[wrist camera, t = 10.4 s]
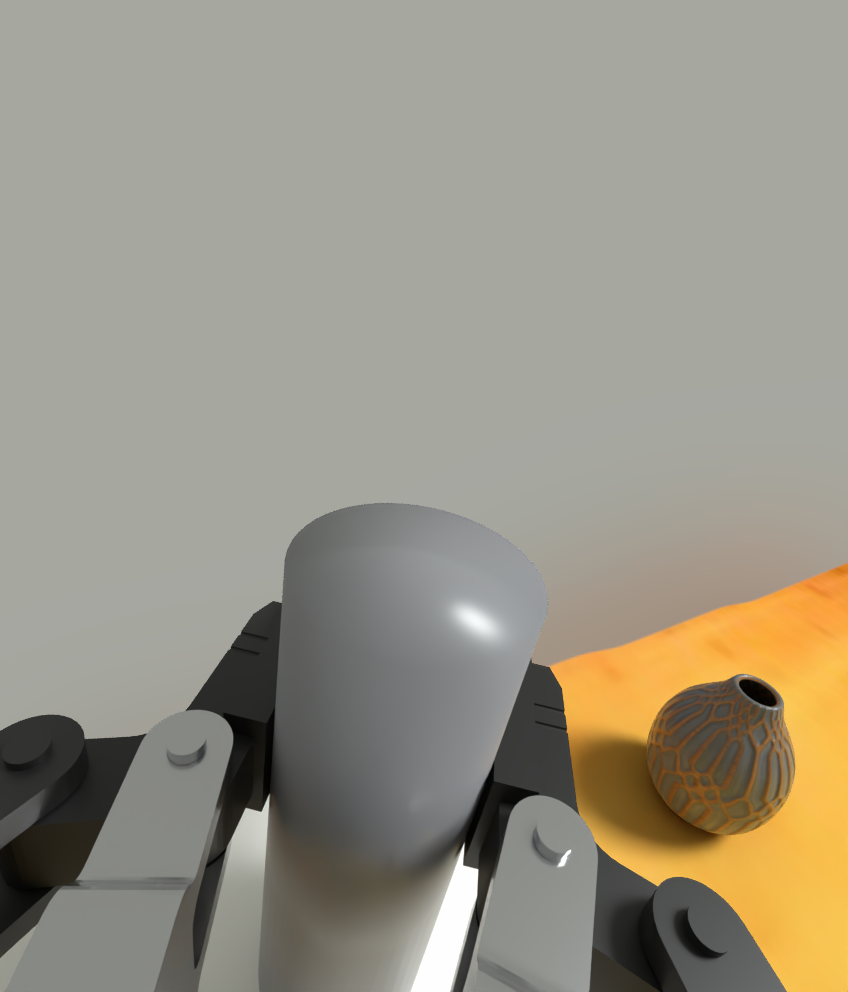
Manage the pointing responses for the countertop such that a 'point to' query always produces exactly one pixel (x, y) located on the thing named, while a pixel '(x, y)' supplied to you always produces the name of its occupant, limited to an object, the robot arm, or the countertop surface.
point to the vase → (723, 755)
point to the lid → (374, 755)
